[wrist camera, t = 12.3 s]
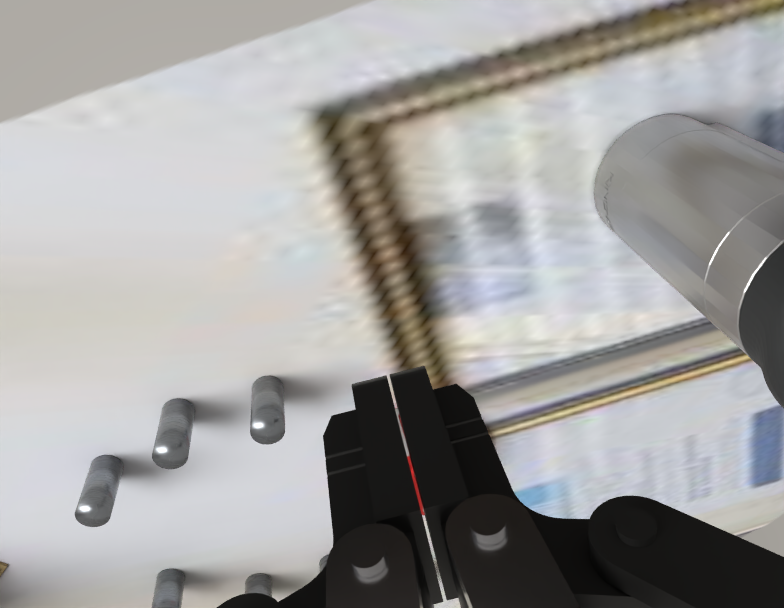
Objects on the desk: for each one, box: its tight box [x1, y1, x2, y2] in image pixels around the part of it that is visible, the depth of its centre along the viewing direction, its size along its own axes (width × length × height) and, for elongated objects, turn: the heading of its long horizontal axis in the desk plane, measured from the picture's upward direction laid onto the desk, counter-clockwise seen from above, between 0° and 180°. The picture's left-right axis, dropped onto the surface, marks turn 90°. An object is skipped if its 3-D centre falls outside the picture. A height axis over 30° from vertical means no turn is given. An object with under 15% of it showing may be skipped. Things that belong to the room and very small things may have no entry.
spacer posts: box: [75, 376, 434, 608], centre depth 57 cm, size 23×31×5 cm
